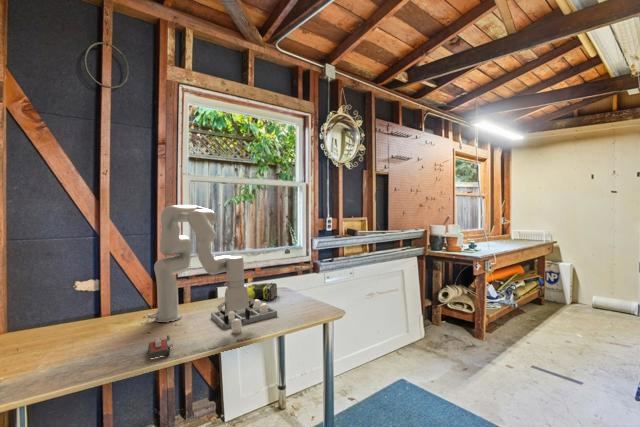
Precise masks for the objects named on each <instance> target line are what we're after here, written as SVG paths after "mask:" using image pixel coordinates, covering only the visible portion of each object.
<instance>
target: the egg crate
mask: <svg viewBox="0 0 640 427" xmlns="http://www.w3.org/2000/svg"><path fill="white" fill-rule="evenodd" d="M254 300H255V302H254V304H253V307H252V308H251V310H250V317H249V320H247V319H246V318H245V310H246V308H245V309H240V310H236V311H230V312H229V313H228V316H229V324H228V325H227V324H225V323H224V315H223V314H222V313H220V312H219V310H217V311H215V312H211V313H210V318H211V319H212V320H213V322H215V323H216V324H217V325H218V326H220V327H221V328H222V330H225V329H230V328H232V321H233V320H234V319H240V320H241V324H242V325H245V324H250V323H255V322H258V321H263V320H266V319H270V318H275V317H278V311H277V310H276V309H275V308H272V307H270V306H269V305H268V304H267V303H265V302H264V303H263V302H261V300H260V299H259V298H256V299H254ZM222 310H223V311H224V310H225V306H224V307H222Z"/></svg>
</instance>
